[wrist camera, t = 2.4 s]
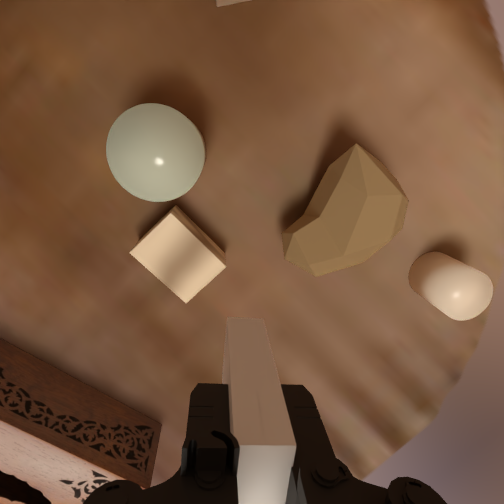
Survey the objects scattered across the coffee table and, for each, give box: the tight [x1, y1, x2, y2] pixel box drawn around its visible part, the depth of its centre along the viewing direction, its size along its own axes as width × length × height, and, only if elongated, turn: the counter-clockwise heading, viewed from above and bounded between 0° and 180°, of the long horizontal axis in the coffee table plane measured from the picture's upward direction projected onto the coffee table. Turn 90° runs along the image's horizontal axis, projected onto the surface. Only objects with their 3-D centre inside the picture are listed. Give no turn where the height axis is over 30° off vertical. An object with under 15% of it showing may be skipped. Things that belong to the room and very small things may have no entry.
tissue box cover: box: [0, 339, 162, 504], centre depth 42 cm, size 26×14×10 cm, turn 51°
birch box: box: [130, 205, 226, 303], centre depth 40 cm, size 8×6×5 cm
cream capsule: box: [408, 252, 493, 320], centre depth 43 cm, size 6×6×7 cm
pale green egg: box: [106, 103, 206, 202], centre depth 34 cm, size 8×8×9 cm
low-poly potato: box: [282, 143, 409, 277], centre depth 38 cm, size 15×11×12 cm
